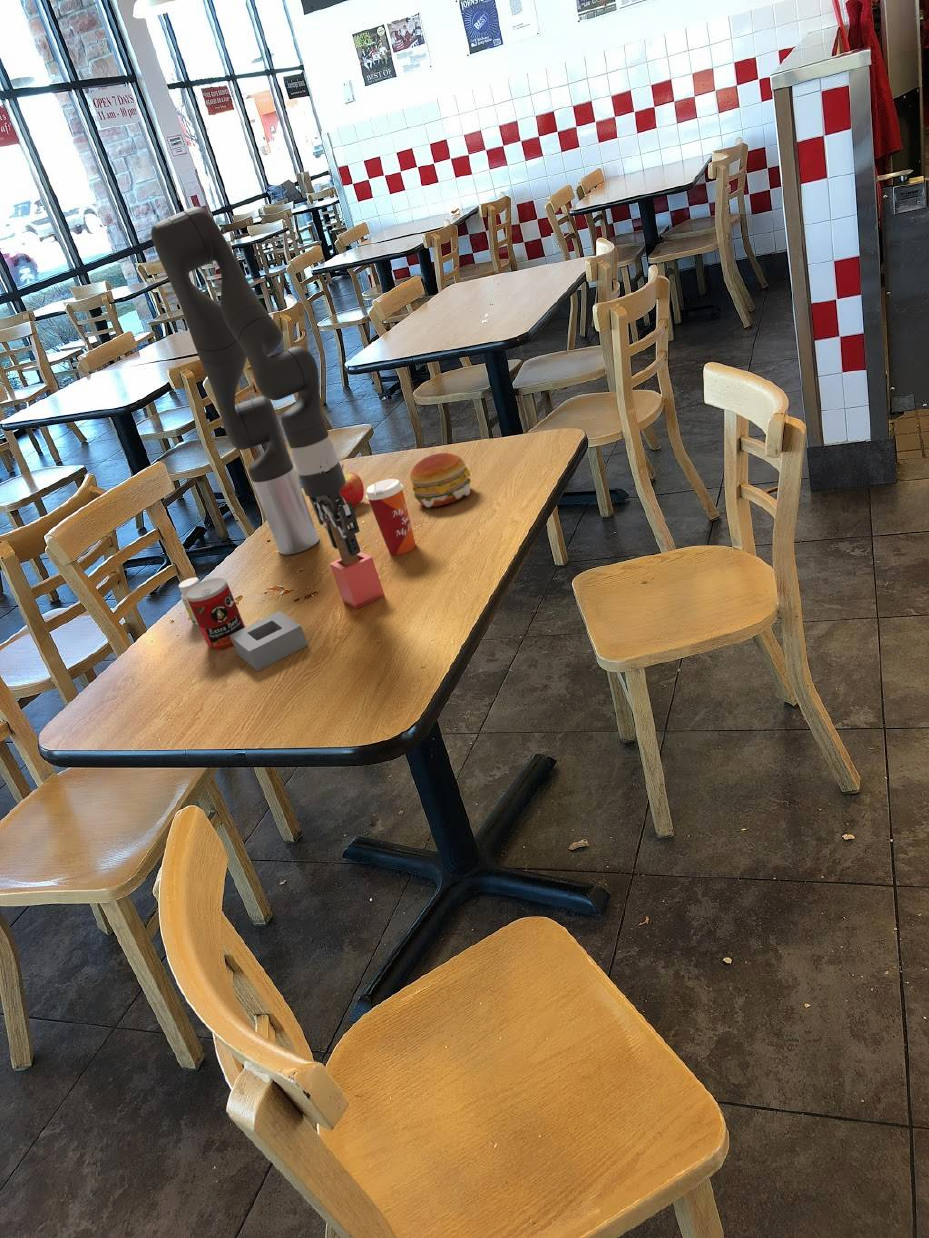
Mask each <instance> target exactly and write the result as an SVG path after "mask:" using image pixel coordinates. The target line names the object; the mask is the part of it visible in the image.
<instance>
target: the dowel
mask: <svg viewBox="0 0 929 1238" xmlns="http://www.w3.org/2000/svg"><path fill="white" fill-rule="evenodd" d="M340 520H341V519H338V520H337V521H340ZM329 525H330V528H331V531H332V533H333V536H334V539H335V542H336V545H337V549H338V550H337V551H338V553H339V556H340V558H341V559H342V562H343V565H344V567H348V566H350V565H352V564H354V563H356V562H358V561H359V558H358V555H357V554H356V555H354V556H349V555H348V552H347V549H346V546H345V544H344V541H343V537H342V536H341V533H340V531H339V529H338V528H335V527H334V526H333V524H332V522H330V524H329ZM342 527H343V526H342Z"/></svg>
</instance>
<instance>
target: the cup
mask: <svg viewBox="0 0 929 1238" xmlns="http://www.w3.org/2000/svg"><path fill="white" fill-rule="evenodd" d="M357 555H358V558H359V561H358V562H356V563H354V564H352V565H350V566H348V567H344V565H343V562H342V559H341V557H340V558H339V559H336V560H335V561H332V562H329V566H330V569H331V572H332V574H333V576H334V579H335V583H336V586H337V588H338V591H339V594H340V597H341V600H342V602H343V603H345V604H347V605H348V606H350V607H352V608H354V609H356V610H359V609H361V608H363V607H365V606H367V605H370V604H371V603H372V602H375V601H376V600H378V599H380V598H382V597H385V596H386V595H385V592H384V589H383V586H382V583H381V580H380V578H379V574H378V572H377V569H376V568H377V567H376V566H375V562H374V559H373V557H372V556H370V555H369V554H367V553H364V552H362V551H360V553H359V554H357Z"/></svg>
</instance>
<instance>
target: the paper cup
mask: <svg viewBox="0 0 929 1238" xmlns="http://www.w3.org/2000/svg"><path fill="white" fill-rule="evenodd" d="M403 488H404V485H403V484H402V483H401V482H400V480H399V479H398V478H389V479H383V480H380V481H377V482H375V483H372V484H371V485H369V486H368V487H366V490H365V491H366V493H365V494H366V495H365V499H366V500H368V503H369V505H370V507H371V510H372V512H373V515H374V518H375V520H376V523H377V526H378V528H379V530H380V533H381V536H382V537H383V540H384V543H385V545H386V548H387V550H388V553H389V554H390V555H392V556H399V555H404V554H407V553H409V552H411V551H413V550H414V549H415V548H416V540H415V536H414V532H413V531H414V530H413V528H412V523H411V519H410V515H409V512H408V507H407V503H406V498H405V494H404V491H403Z"/></svg>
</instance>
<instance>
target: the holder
mask: <svg viewBox="0 0 929 1238" xmlns="http://www.w3.org/2000/svg"><path fill="white" fill-rule="evenodd" d="M230 638H231V640H232V643H233V647H234V650H235V652H236V655H238V656H239V657H240V658H241V659H242V660H243V661H245V662H246V663H247V664H248V665H249V666H251V667H252V668H253V669H254V670H255V671H256V672H259V671H260V670H263V669H265V668H267V667H269V666H270V665H273V664H274V663H276V662H278V661H280V660H282V659H284V658H286V657H288V656H290V655H292V654H294V653H296V652H297V651H300V650H301V649H303V648H306V647H308V646H309V644H308V641H307V639H306V636H305V633H304V631H303V628H302V625H300V624H299V623H297V622H296V621H295V620H293V619H292V618H291V617H289V616H288V615H286V614H285V613H284V612H282V611H280V610H278V611H276V612H274V613H271V614H269V615H268V616H266V617H264V618H262V619H260V620H257V621H256V622H253V623H251V624H250V625H248V626H245V628H243V629H241V630H239V631H237V632H235V633H233V634H231V635H230Z"/></svg>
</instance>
